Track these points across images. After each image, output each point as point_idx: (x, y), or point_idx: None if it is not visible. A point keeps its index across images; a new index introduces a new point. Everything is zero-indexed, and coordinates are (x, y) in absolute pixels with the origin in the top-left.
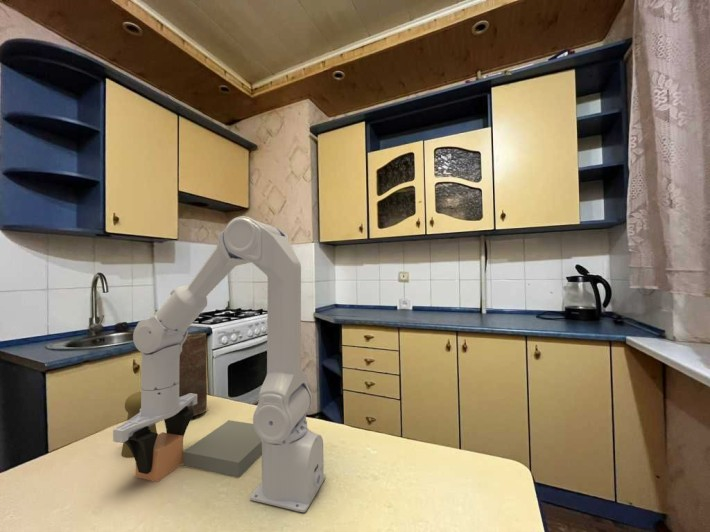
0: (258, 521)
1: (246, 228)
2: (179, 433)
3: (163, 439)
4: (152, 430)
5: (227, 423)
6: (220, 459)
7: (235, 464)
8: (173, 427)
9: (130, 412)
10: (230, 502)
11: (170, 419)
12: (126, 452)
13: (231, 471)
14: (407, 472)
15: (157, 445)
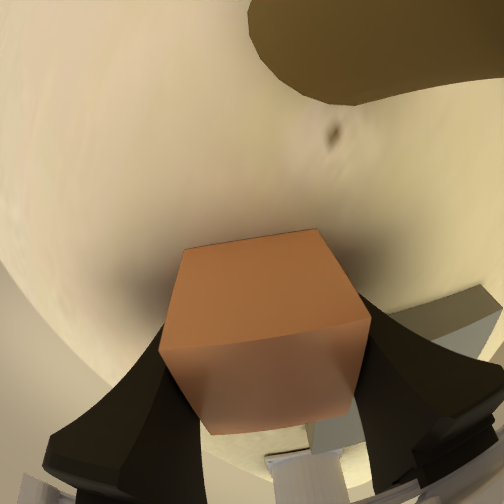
0: (241, 466)
1: None
2: (358, 403)
3: (295, 392)
4: (422, 88)
5: (486, 324)
6: (313, 439)
7: (310, 448)
8: (376, 403)
9: None
10: (250, 447)
11: (398, 436)
12: (255, 28)
13: (308, 431)
14: (354, 474)
15: (238, 413)
